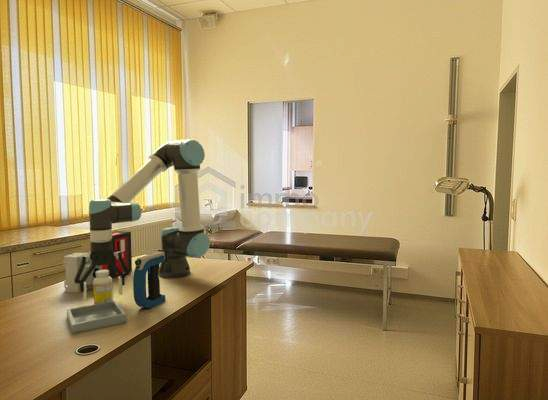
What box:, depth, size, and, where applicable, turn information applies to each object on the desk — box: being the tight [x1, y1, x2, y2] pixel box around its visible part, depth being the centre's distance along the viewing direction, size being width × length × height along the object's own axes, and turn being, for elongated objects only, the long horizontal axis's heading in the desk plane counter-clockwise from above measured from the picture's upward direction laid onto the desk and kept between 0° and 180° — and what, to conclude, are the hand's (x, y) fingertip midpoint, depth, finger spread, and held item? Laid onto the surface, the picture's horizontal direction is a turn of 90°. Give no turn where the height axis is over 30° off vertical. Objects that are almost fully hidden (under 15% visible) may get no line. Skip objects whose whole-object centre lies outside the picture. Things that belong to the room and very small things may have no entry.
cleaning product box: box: [102, 230, 133, 280], centre depth 183 cm, size 16×9×20 cm, turn 164°
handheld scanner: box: [132, 249, 168, 309], centre depth 141 cm, size 5×16×20 cm, turn 161°
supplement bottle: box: [92, 270, 114, 304], centre depth 142 cm, size 7×7×13 cm
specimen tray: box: [66, 299, 128, 335], centre depth 128 cm, size 16×16×3 cm
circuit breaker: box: [62, 252, 102, 294], centre depth 159 cm, size 8×14×15 cm, turn 78°
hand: (103, 296), depth 143 cm, fingers open, 12 cm apart
